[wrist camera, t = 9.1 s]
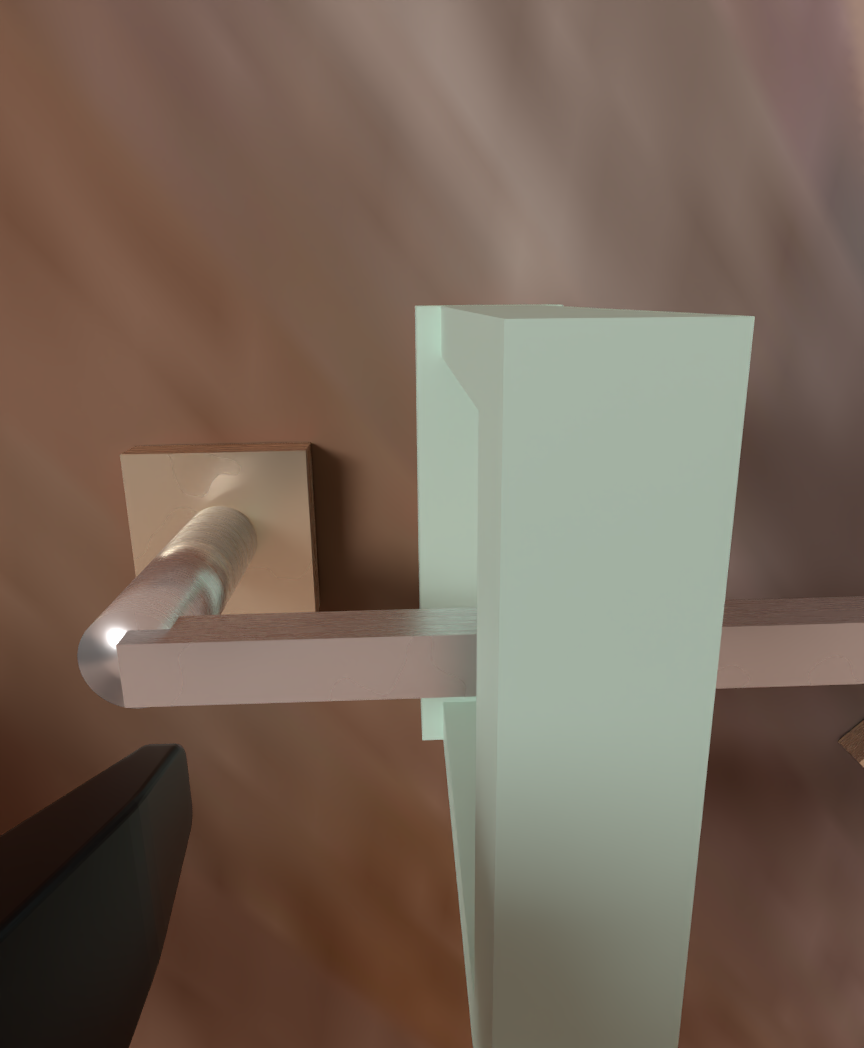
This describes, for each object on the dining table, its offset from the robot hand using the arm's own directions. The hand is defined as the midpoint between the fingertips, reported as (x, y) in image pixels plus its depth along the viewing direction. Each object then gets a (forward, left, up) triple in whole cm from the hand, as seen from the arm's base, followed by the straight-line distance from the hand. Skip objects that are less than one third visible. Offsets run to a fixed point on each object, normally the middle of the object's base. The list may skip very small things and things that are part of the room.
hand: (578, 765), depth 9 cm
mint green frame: (0, 0, -10) cm, 10 cm away
